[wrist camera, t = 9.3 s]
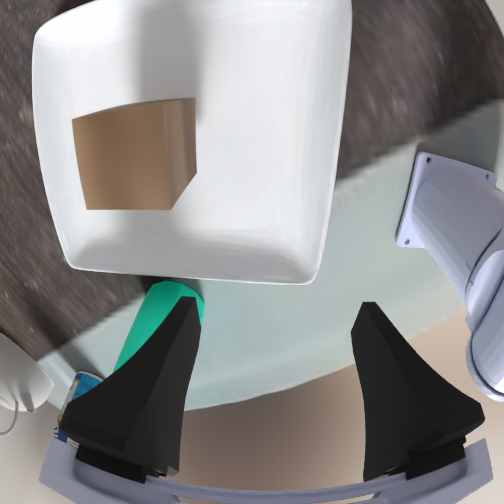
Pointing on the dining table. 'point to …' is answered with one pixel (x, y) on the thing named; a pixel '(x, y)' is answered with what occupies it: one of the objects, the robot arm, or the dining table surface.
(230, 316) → the dining table surface
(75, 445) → the beverage bottle
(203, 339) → the dining table surface
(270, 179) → the salad plate
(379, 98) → the dining table surface
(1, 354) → the kettle
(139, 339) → the candle
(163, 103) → the walnut block
